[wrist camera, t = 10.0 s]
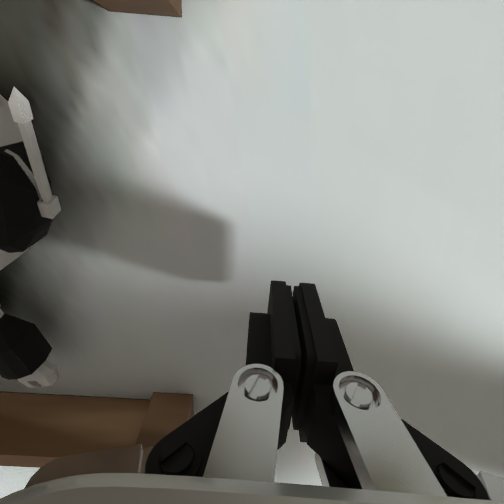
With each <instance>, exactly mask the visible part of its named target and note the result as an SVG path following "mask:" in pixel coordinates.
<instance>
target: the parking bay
mask: <svg viewBox="0 0 504 504" xmlns="http://www.w3.org/2000/svg"><path fill="white" fill-rule="evenodd" d="M93 1H95V2H96V3H98V4H99V5H101V6H102V7H104V8H105V9H107V10H108V11H113V12H124V13H136V14H148V15H160V16H172V17H182V9H181V0H93ZM192 417H193V395H188V394H170V393H153V396H152V398H151V400H140V399H121V398H102V397H83V396H64V395H46V394H27V393H8V392H0V466H20V467H42V466H44V465H45V464H47V463H49V462H50V461H52V460H54V459H57V458H60V457H63V456H68V455H74V454H80V453H87V452H93V451H99V450H106V449H112V448H118V447H124V446H131V445H137V444H142V448H145V447H151V446H155V445H156V444H157V443H158V442H159V441H160V440H161V439H162V438H163V437H165V436H166V435H168V434H169V433H171V432H172V431H173V430H175V429H176V428H178V427H179V426H181V425H182V424H183V423H185V422H186V421H188V420H189V419H190V418H192Z"/></svg>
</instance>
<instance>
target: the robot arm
mask: <svg viewBox="0 0 504 504" xmlns="http://www.w3.org/2000/svg"><path fill="white" fill-rule="evenodd" d="M291 416H292V422H293V429H294V430H299V435H300V442H307V444H308V445H309V446H310V447H311V448H312V449H313V450H314V451H315V460H316V465H317V469H318V472H319V476H320V479H321V483H322V486H313V485H301V484H288V483H275V482H274V475H275V466H276V456H277V450H278V449H279V448H280V447H281V446H282V445H283V444H284V443H285V442H286V437H287V432H288V429H289V427H290V421H291ZM0 504H504V478H501V477H498V476H494V475H491V474H488V473H485V472H481V471H480V472H479V474H478V475H476V474H474V473H473V471H472V470H470V469H469V468H468V467H467V466H466V465H464V464H463V463H462V462H461V461H459V460H458V459H457V458H455V457H454V456H452V455H451V454H450V453H448V452H447V451H445V450H444V449H443V448H441V447H440V446H438V445H437V444H436V443H434V442H433V441H432V440H430V439H429V438H427V437H426V436H425V435H423V434H422V433H420V432H419V431H418V430H416V429H415V428H413V427H412V426H411V425H409V424H408V423H406V422H405V421H404V420H402V419H401V418H400V417H399V415H398V414H397V412H396V410H395V409H394V407H393V405H392V404H391V402H390V400H389V399H388V397H387V395H386V394H385V392H384V390H383V389H382V388H381V386H380V385H379V384H378V383H377V382H376V381H374V380H373V379H372V378H370V377H369V376H367V375H365V374H362V373H359V372H354V371H353V368H352V365H351V362H350V359H349V356H348V353H347V351H346V348H345V345H344V342H343V339H342V336H341V333H340V331H339V328H338V325H337V322H336V320H335V319H328V318H325V316H324V313H323V309H322V306H321V303H320V299H319V296H318V293H317V289H316V286H315V284H309V283H300V284H299V286H294V290H293V297H292V291H291V286H288V285H286V282H284V281H271V286H270V295H269V304H268V313H267V314H265V313H252V312H250V317H249V329H248V342H247V356H246V366H244V367H242V368H240V369H239V370H238V371H237V372H236V373H235V375H234V377H233V380H232V383H231V386H230V390H229V392H227V393H226V394H225V395H223V396H222V397H220V398H219V399H217V400H216V401H215V402H213V403H212V404H210V405H209V406H208V407H206V408H205V409H203V410H202V411H200V412H199V413H198V414H196V415H195V416H193V417H192V418H190V419H189V420H188V421H186V422H185V423H183V424H182V425H181V426H179V427H178V428H176V429H175V430H173V431H172V432H171V433H169V434H168V435H166V436H165V437H163V438H162V439H161V440H160V441H159V442H158V443H157V444H156V445H155V446H151V447H145V448H142V444H137V445H131V446H124V447H118V448H112V449H106V450H99V451H93V452H87V453H80V454H74V455H68V456H63V457H60V458H57V459H54V460H52V461H50V462H49V463H47V464H45V465H44V466H42V467H41V468H40V469H39V470H38V471H37V472H36V473H35V474H34V475H33V476H32V477H31V478H30V480H29V482H28V483H27V485H26V487H25V488H24V489H22V490H20V491H17V492H14V493H12V494H10V495H8V496H5V497H3V498H1V499H0Z"/></svg>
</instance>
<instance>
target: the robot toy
mask: <svg viewBox="0 0 504 504" xmlns="http://www.w3.org/2000/svg"><path fill="white" fill-rule="evenodd" d="M32 119H33V115H32V111H31V108H30V104H29V101H28V100H27V99H26V98H25V97H24V96H23V95H22V94H21V93H20V92H19V91H18V90H17V89H16V88H15V87H13V90H12V93H11V95H10V98H9V101H7V100H6V99H5V98H4V97H2V96H1V95H0V270H1V269H3V268H4V267H6V266H7V265H8V264H10V263H11V262H12V261H14V260H15V259H17V258H18V257H19V256H21V255H22V254H23V253H25V252H26V251H28V250H29V249H30V247H31V246H32V245H33V244H35V243H36V242H38V241H39V240H40V239H42V238H43V237H44V236H46V235H47V233H48V230H49V227H50V225H51V222H52V220H53V218H54V217H55V216H56V215H57V214H58V213H59V212H60V211H61V207H60V204H59V200H58V196H55V195H52V192H51V181H50V179H49V176H48V174H47V170H46V166H45V162H44V158H43V156H42V154H41V152H40V150H39V147H38V143H37V139H36V136H35V132H34V129H33V125H32V122H31V120H32ZM1 292H2V291H1V290H0V294H1ZM0 307H1V305H0ZM51 350H52V347H51V346H50V345H49V343H48V342H47V341H46V339H45V338H44V336H43V335H42V334H41V332H40V331H39V330H38V328H37V327H36V325H35V324H33V323H30V322H28V321H25V320H22V319H20V318H17V317H14V316H11V315H7V314H4V312H3V311H2V310H1V309H0V375H1V376H2V377H3V378H6V379H9V380H10V379H18V381H19V382H20V383H22V384H23V385H25V386H26V387H28V388H40V387H41V386H44V387H51V386H52V385H53V384H54V383H55V382H56V381H57V380H58V375H59V374H58V371H57V369H56V366H55V365H54V364H52V363H49V362H47V361H46V359H47V357H48V355H49V353H50V352H51Z"/></svg>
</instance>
